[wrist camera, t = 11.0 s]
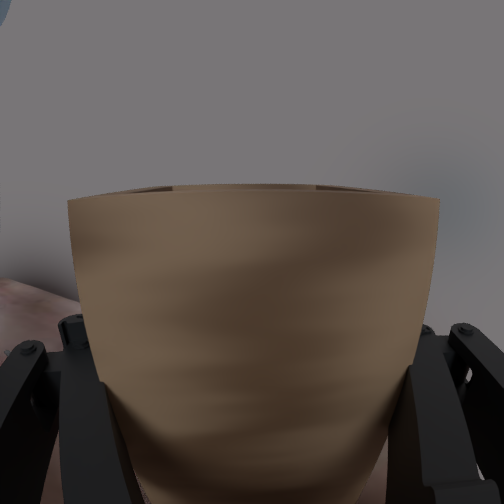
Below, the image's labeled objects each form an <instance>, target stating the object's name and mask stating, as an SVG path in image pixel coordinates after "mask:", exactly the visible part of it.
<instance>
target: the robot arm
mask: <svg viewBox="0 0 504 504" xmlns="http://www.w3.org/2000/svg"><path fill="white" fill-rule="evenodd" d="M10 3H11V0H0V26H1V25H2V23H3V21H4V20H5V18H6V15H7V12H8V9H9V6H10ZM58 328H59V332H60V335H61V339H62V343H63V346H64V348H63V351H60V352H49V353H46V350H45V346H44V344H43V343H42V342H40V341H36V340H32V341H30V340H28V341H24V342H22V343H21V344H19V345H17V346H16V347H15V348H14V349H13V350H12V352H11V353H10V354H9V356H8V357H7V359H6V360H5V361H4V363H3V364H2V365H1V367H0V504H40V501H41V496H42V491H43V487H44V482H45V478H46V474H47V470H48V466H49V462H50V458H51V455H52V451H53V447H54V444H55V440H56V437H57V434H58V430H59V447H60V467H61V479H62V489H63V498H64V504H145V502H144V500H143V497H142V494H141V491H140V488H139V485H138V482H137V479H136V476H135V473H134V470H133V467H132V463H131V460H130V456H129V453H128V449H127V446H126V443H125V440H124V438H123V435H122V433H121V430H120V427H119V425H118V422H117V419H116V417H115V414H114V411H113V408H112V405H111V402H110V399H109V396H108V393H107V390H106V387H105V384H104V382H100V380H99V377H98V373H97V370H96V367H95V363H94V359H93V356H92V352H91V348H90V344H89V340H88V336H87V332H86V328H85V323H84V319H83V314H76V315H72V316H68V317H66V318H64V319H62V320H61V321H60V322H59V323H58ZM469 368H471V370H472V377H471V380H470V381H469V382H468V381H467V379H466V376H467V373H468V371H469ZM476 463H477V464H476ZM477 465H478V467H479V469H480V471H481V473H482V475H483V477H484V479H485V480H481V479H480V477H479V474H478V469H477ZM385 504H504V353H503V352H502V351H501V350H500V349H499V348H498V347H497V346H496V345H495V344H494V343H493V342H492V341H490V340H489V339H488V338H487V337H486V336H485V335H484V334H483V333H482V332H481V331H480V330H479V329H477V328H476V327H474V326H472V325H470V324H468V323H467V324H466V323H458V324H454V325H453V326H452V327H451V330H450V334H449V336H436V335H435V333H434V331H433V330H432V329H431V328H430V327H429V326H427V325H424V324H422V329H421V333H420V337H419V341H418V345H417V349H416V353H415V356H414V360H413V364H412V365H409V366H408V369H407V373H406V376H405V380H404V383H403V386H402V389H401V392H400V395H399V398H398V401H397V404H396V407H395V410H394V413H393V415H392V418H391V421H390V424H389V426H388V470H387V489H386V502H385Z"/></svg>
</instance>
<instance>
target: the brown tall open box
mask: <svg viewBox="0 0 504 504" xmlns="http://www.w3.org/2000/svg"><path fill="white" fill-rule="evenodd" d="M439 203H440V199H437V198H430V197H423V196H417V195H410V194H403V193H395V192H387V191H379V190H370V189H362V188H353V187H343V186H332V185H305V184H211V185H210V184H208V185H180V186H158V187H148V188H141V189H134V190H127V191H120V192H114V193H107V194H101V195H95V196H89V197H83V198H78V199H72V200H68V216H69V228H70V238H71V247H72V255H73V263H74V270H75V276H76V282H77V288H78V294H79V299H80V304H81V309H82V314H83V319H84V323H85V328H86V332H87V336H88V340H89V344H90V348H91V352H92V356H93V359H94V363H95V367H96V370H97V373H98V377H99V380H100V382H104V384H105V387H106V390H107V393H108V396H109V399H110V402H111V405H112V408H113V411H114V414H115V417H116V419H117V422H118V425H119V427H120V430H121V433H122V435H123V438H124V440H125V443H126V446H127V449H128V453H129V456H130V460H131V463H132V466H133V468H134V471H135V473H136V475H137V477H138V479H139V481H140V483H141V485H142V487H143V489H144V491H145V493H146V495H147V497H148V498H149V500H150V502H151V504H355V503H356V501H357V500H358V498H359V496H360V494H361V492H362V490H363V488H364V486H365V484H366V482H367V480H368V478H369V476H370V474H371V472H372V470H373V468H374V466H375V464H376V462H377V459H378V457H379V455H380V453H381V450H382V448H383V446H384V443H385V441H386V439H387V436H388V426H389V424H390V421H391V418H392V415H393V413H394V410H395V407H396V404H397V401H398V398H399V395H400V392H401V389H402V386H403V383H404V380H405V376H406V373H407V369H408V366H409V365H412V364H413V360H414V356H415V353H416V349H417V345H418V341H419V337H420V333H421V329H422V324H423V320H424V315H425V310H426V305H427V300H428V295H429V290H430V284H431V277H432V271H433V264H434V257H435V248H436V240H437V230H438V219H439Z"/></svg>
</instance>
